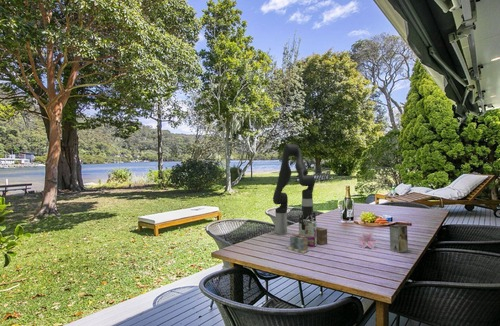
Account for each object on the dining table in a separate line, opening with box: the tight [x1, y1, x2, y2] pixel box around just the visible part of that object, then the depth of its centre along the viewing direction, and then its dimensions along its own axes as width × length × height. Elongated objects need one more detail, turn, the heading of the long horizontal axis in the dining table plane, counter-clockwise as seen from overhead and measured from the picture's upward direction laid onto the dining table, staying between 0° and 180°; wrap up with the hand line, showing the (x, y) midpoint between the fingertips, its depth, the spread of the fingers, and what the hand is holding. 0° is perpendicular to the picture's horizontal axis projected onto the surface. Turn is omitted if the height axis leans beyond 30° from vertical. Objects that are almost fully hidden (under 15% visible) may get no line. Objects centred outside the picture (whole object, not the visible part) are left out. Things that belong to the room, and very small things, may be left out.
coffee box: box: [389, 223, 409, 254], centre depth 181 cm, size 9×6×16 cm
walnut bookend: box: [316, 226, 328, 246], centre depth 199 cm, size 12×6×10 cm, turn 38°
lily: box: [356, 231, 378, 251], centre depth 190 cm, size 12×12×10 cm
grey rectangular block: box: [285, 233, 310, 255], centre depth 193 cm, size 15×27×10 cm, turn 128°
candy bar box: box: [298, 220, 318, 248], centre depth 193 cm, size 11×5×16 cm, turn 59°
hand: (307, 228), depth 193 cm, fingers open, 8 cm apart
